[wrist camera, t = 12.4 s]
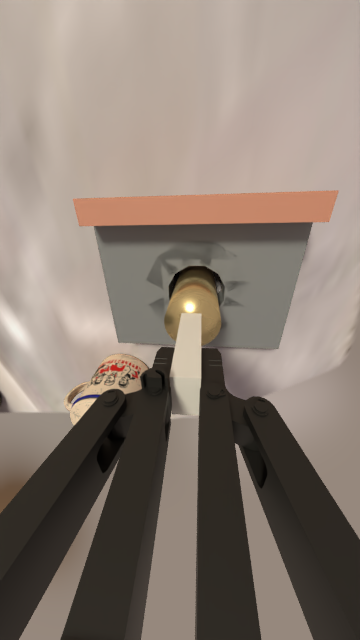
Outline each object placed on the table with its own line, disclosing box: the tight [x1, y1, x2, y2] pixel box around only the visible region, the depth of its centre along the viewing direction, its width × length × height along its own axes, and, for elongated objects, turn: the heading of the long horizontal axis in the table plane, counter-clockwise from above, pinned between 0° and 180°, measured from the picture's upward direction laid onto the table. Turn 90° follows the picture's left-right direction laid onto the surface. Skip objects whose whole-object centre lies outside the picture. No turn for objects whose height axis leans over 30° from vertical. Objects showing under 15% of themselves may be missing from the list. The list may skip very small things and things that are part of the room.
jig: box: [73, 191, 338, 349], centre depth 22 cm, size 20×16×6 cm
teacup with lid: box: [64, 354, 148, 425], centre depth 29 cm, size 12×9×12 cm
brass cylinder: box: [164, 266, 221, 346], centre depth 21 cm, size 5×5×10 cm
